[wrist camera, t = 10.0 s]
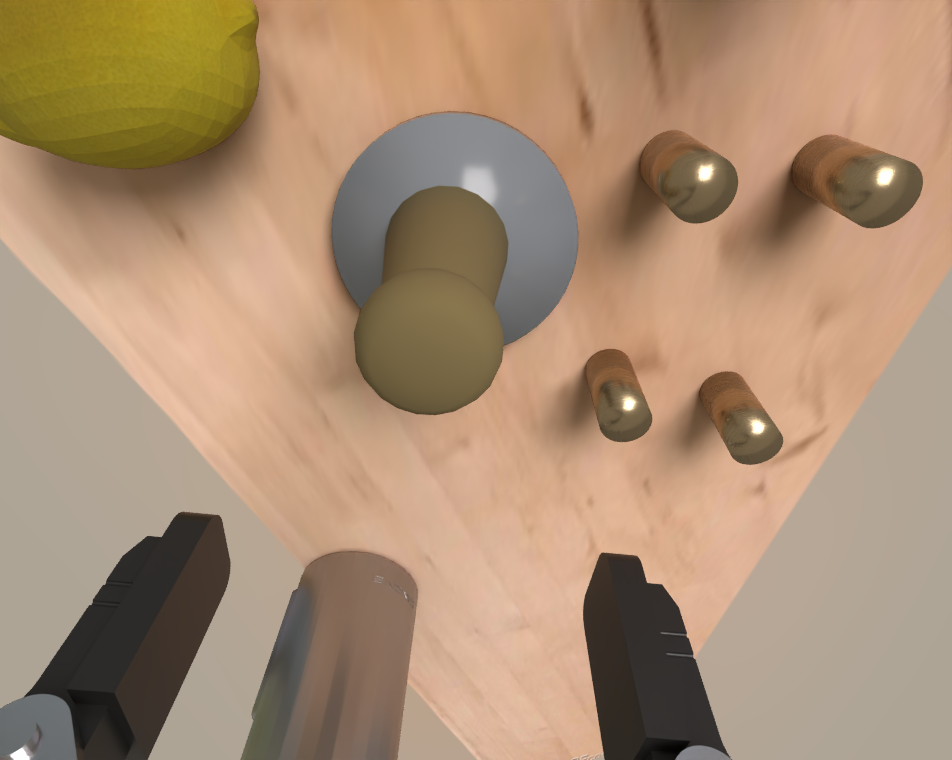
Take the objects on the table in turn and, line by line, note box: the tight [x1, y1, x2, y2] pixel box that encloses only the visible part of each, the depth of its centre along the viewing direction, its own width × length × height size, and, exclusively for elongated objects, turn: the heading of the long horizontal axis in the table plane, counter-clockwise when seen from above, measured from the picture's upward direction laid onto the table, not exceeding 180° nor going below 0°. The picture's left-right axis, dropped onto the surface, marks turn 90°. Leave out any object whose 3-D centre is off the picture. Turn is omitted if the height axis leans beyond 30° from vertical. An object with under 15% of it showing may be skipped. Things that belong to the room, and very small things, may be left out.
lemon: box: [0, 0, 260, 169], centre depth 20 cm, size 11×8×8 cm
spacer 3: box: [700, 372, 783, 465], centre depth 31 cm, size 3×3×5 cm
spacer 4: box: [791, 135, 923, 228], centre depth 23 cm, size 3×3×5 cm
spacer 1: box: [585, 349, 652, 442], centre depth 30 cm, size 3×3×5 cm
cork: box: [354, 186, 509, 415], centre depth 23 cm, size 6×6×11 cm
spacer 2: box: [640, 131, 738, 223], centre depth 24 cm, size 3×3×5 cm
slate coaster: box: [332, 111, 578, 346], centre depth 28 cm, size 12×12×1 cm
